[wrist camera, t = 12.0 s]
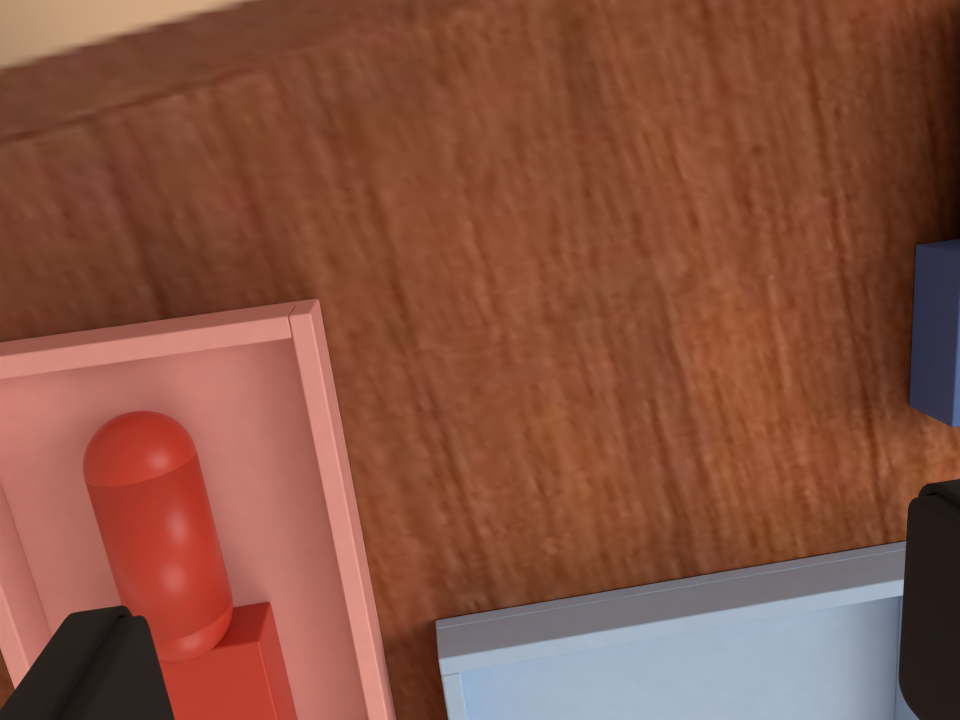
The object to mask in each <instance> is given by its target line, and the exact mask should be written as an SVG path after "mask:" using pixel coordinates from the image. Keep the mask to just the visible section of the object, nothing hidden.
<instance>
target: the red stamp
mask: <svg viewBox="0 0 960 720" xmlns="http://www.w3.org/2000/svg"><path fill="white" fill-rule="evenodd" d="M83 474H84V480H85V483H86V486H87V490H88V493H89V497H90V500H91V503H92V507H93V510H94V513H95V517H96V520H97V524H98V527H99V530H100V534H101V537H102V541H103V544H104V547H105V551H106V554H107V557H108V561H109V564H110V568H111V571H112V574H113V578H114V581H115V584H116V588H117V591H118V595H119V598H120V601H121V605H123V606H125V607H127V608H128V609H129V611H130V612H131V614H132V616H138V615H141V616H144V617H145V619H146V620H147V622H148V625H149V627H150V631H151V635H152V638H153V642H154V645H155V649H156V653H157V656H158V660H159V663H160V667H161V671H162V674H163V678H164V682H165V685H166V689H167V692H168V696H169V700H170V703H171V707H172V710H173V714H174V718H175V720H298V719H297V715H296V710H295V706H294V702H293V698H292V693H291V689H290V685H289V680H288V676H287V672H286V667H285V663H284V659H283V654H282V650H281V646H280V641H279V637H278V633H277V628H276V624H275V620H274V615H273V611H272V607H271V603H270V602H265V603H259V604H253V605H247V606H241V607H235V608H233V598H232V592H231V588H230V584H229V580H228V576H227V572H226V568H225V564H224V560H223V556H222V552H221V548H220V544H219V540H218V536H217V532H216V528H215V524H214V519H213V515H212V511H211V507H210V503H209V499H208V495H207V491H206V487H205V483H204V479H203V475H202V471H201V467H200V463H199V459H198V455H197V451H196V447H195V444H194V442H193V439H192V437H191V436H190V434H189V433H188V431H187V430H186V429H185V428H184V427H183V426H182V425H181V424H180V423H179V422H177V421H176V420H174V419H173V418H171V417H169V416H167V415H164V414H161V413H159V412H153V411H144V410H143V411H133V412H128V413H125V414H122V415H119V416H117V417H114V418H112V419H111V420H109V421H108V422H107V423H105V424H104V425H103V426H101V427H100V428H99V429H98V430H97V432H96V433H95V434H94V435H93V436H92V438H91V440H90V441H89V443H88V445H87V447H86V451H85V454H84V458H83Z"/></svg>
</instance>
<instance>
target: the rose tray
mask: <svg viewBox="0 0 960 720" xmlns="http://www.w3.org/2000/svg"><path fill="white" fill-rule="evenodd" d="M143 410H144V411H153V412H159V413H161V414H164V415H167V416H169V417H171V418H173V419H174V420H176V421H177V422H179V423H180V424H181V425H182V426H183V427H184V428H185V429H186V430H187V431H188V433H189V434H190V436H191V437H192V439H193V442H194V444H195V447H196V451H197V455H198V459H199V463H200V467H201V471H202V475H203V479H204V483H205V487H206V491H207V495H208V499H209V503H210V507H211V511H212V515H213V519H214V524H215V528H216V532H217V536H218V540H219V544H220V548H221V552H222V556H223V560H224V564H225V568H226V572H227V576H228V580H229V584H230V588H231V592H232V598H233V608H235V607H241V606H247V605H253V604H259V603H265V602H270V603H271V607H272V611H273V615H274V620H275V624H276V628H277V633H278V637H279V641H280V646H281V650H282V654H283V659H284V663H285V667H286V672H287V676H288V680H289V685H290V689H291V693H292V698H293V702H294V706H295V710H296V715H297V719H298V720H397V719H396V713H395V708H394V703H393V697H392V692H391V686H390V681H389V676H388V670H387V665H386V660H385V654H384V649H383V643H382V638H381V633H380V627H379V622H378V616H377V611H376V606H375V600H374V595H373V589H372V584H371V579H370V573H369V568H368V563H367V557H366V552H365V546H364V541H363V536H362V530H361V525H360V519H359V514H358V509H357V503H356V498H355V492H354V487H353V482H352V476H351V471H350V465H349V460H348V455H347V449H346V444H345V439H344V433H343V428H342V422H341V417H340V412H339V406H338V401H337V395H336V390H335V385H334V379H333V374H332V368H331V363H330V358H329V352H328V347H327V341H326V336H325V331H324V325H323V320H322V315H321V309H320V304H319V300H318V299H309V300H302V301H294V302H287V303H280V304H273V305H266V306H258V307H251V308H244V309H237V310H230V311H222V312H215V313H208V314H201V315H194V316H187V317H179V318H172V319H165V320H158V321H151V322H143V323H136V324H129V325H122V326H115V327H107V328H100V329H93V330H86V331H79V332H71V333H64V334H57V335H50V336H43V337H35V338H28V339H21V340H14V341H7V342H0V649H1V652H2V654H3V657H4V660H5V663H6V666H7V669H8V671H9V674H10V677H11V680H12V683H13V686H14V688H15V689H16V688H17V686H18V685H19V683H20V682H21V680H22V679H23V678H24V676H25V675H26V673H27V672H28V671H29V669H30V668H31V666H32V665H33V663H34V662H35V661H36V659H37V658H38V656H39V655H40V654H41V652H42V651H43V649H44V648H45V646H46V645H47V644H48V642H49V641H50V639H51V638H52V636H53V635H54V634H55V632H56V631H57V629H58V628H59V627H60V625H61V624H62V622H63V621H64V619H65V618H66V617H67V616H68V615H69V614H71V613H74V612H80V611H86V610H93V609H100V608H106V607H113V606H120V605H121V601H120V598H119V595H118V591H117V588H116V584H115V581H114V578H113V574H112V571H111V568H110V564H109V561H108V557H107V554H106V551H105V547H104V544H103V541H102V537H101V534H100V530H99V527H98V524H97V520H96V517H95V513H94V510H93V507H92V503H91V500H90V497H89V493H88V490H87V486H86V483H85V480H84V474H83V458H84V454H85V451H86V447H87V445H88V443H89V441H90V440H91V438H92V436H93V435H94V434H95V433H96V432H97V430H98V429H99V428H100V427H101V426H103V425H104V424H105V423H107V422H108V421H109V420H111V419H112V418H114V417H117V416H119V415H122V414H125V413H128V412H133V411H143Z"/></svg>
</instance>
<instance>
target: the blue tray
mask: <svg viewBox="0 0 960 720" xmlns="http://www.w3.org/2000/svg"><path fill="white" fill-rule="evenodd" d="M905 553H906V541H904V542H898V543H892V544H886V545H880V546H874V547H868V548H862V549H856V550H850V551H844V552H838V553H832V554H826V555H820V556H814V557H809V558H803V559H797V560H791V561H785V562H779V563H773V564H767V565H761V566H755V567H749V568H743V569H737V570H731V571H725V572H720V573H714V574H708V575H702V576H696V577H690V578H684V579H678V580H672V581H666V582H660V583H654V584H648V585H642V586H636V587H630V588H625V589H619V590H613V591H607V592H601V593H595V594H589V595H583V596H577V597H571V598H565V599H559V600H553V601H547V602H541V603H535V604H530V605H524V606H518V607H512V608H506V609H500V610H494V611H488V612H482V613H476V614H470V615H464V616H458V617H452V618H446V619H441V620H436V635H437V648H438V660H439V666H440V673H441V679H442V685H443V691H444V697H445V703H446V709H447V716H448V720H919V719H918V717H917V716H916V715H915V714H914V713H913V712H912V711H911V709H910V708H909V707H908V705H907V703H906V702H905V700H904V698H903V695H902V693H901V690H900V686H899V678H898V673H899V656H900V638H901V621H902V604H903V587H904V570H905Z"/></svg>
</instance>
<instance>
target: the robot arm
mask: <svg viewBox="0 0 960 720" xmlns="http://www.w3.org/2000/svg"><path fill="white" fill-rule="evenodd" d="M898 678H899V686H900V690H901V693H902V695H903V698H904V700H905V702H906V703H907V705H908V707H909V708H910V709H911V711H912V712H913V713H914V714H915V715H916V716H917V717H918V719H919V720H960V479H957V480H950V481H944V482H937V483H930V484H927V485H925V486H924V487H922V489H921V491H920V493H919V496H918V497H917V498H914V499H913V500H912V501H911V503H910V504H909V508H908V519H907V536H906V553H905V570H904V587H903V604H902V621H901V638H900V656H899V673H898ZM0 720H175V718H174V714H173V710H172V707H171V703H170V700H169V696H168V692H167V689H166V685H165V682H164V678H163V674H162V671H161V667H160V663H159V660H158V656H157V653H156V649H155V645H154V642H153V638H152V635H151V631H150V627H149V625H148V622H147V620H146V619H145V617H144V616H141V615H138V616H132V614H131V612H130V611H129V609H128V608H127V607H125V606H123V605H120V606H113V607H106V608H100V609H93V610H86V611H80V612H74V613H71V614H69V615H68V616H67V617H66V618H65V619H64V621H63V622H62V624H61V625H60V627H59V628H58V629H57V631H56V632H55V634H54V635H53V636H52V638H51V639H50V641H49V642H48V644H47V645H46V646H45V648H44V649H43V651H42V652H41V654H40V655H39V656H38V658H37V659H36V661H35V662H34V663H33V665H32V666H31V668H30V669H29V671H28V672H27V673H26V675H25V676H24V678H23V679H22V680H21V682H20V683H19V685H18V686H17V688H16V689H15V690H14V692H13V693H12V695H11V696H10V698H9V699H8V700H7V702H6V703H5V705H4V706H3V707H2V709H1V710H0Z"/></svg>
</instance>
